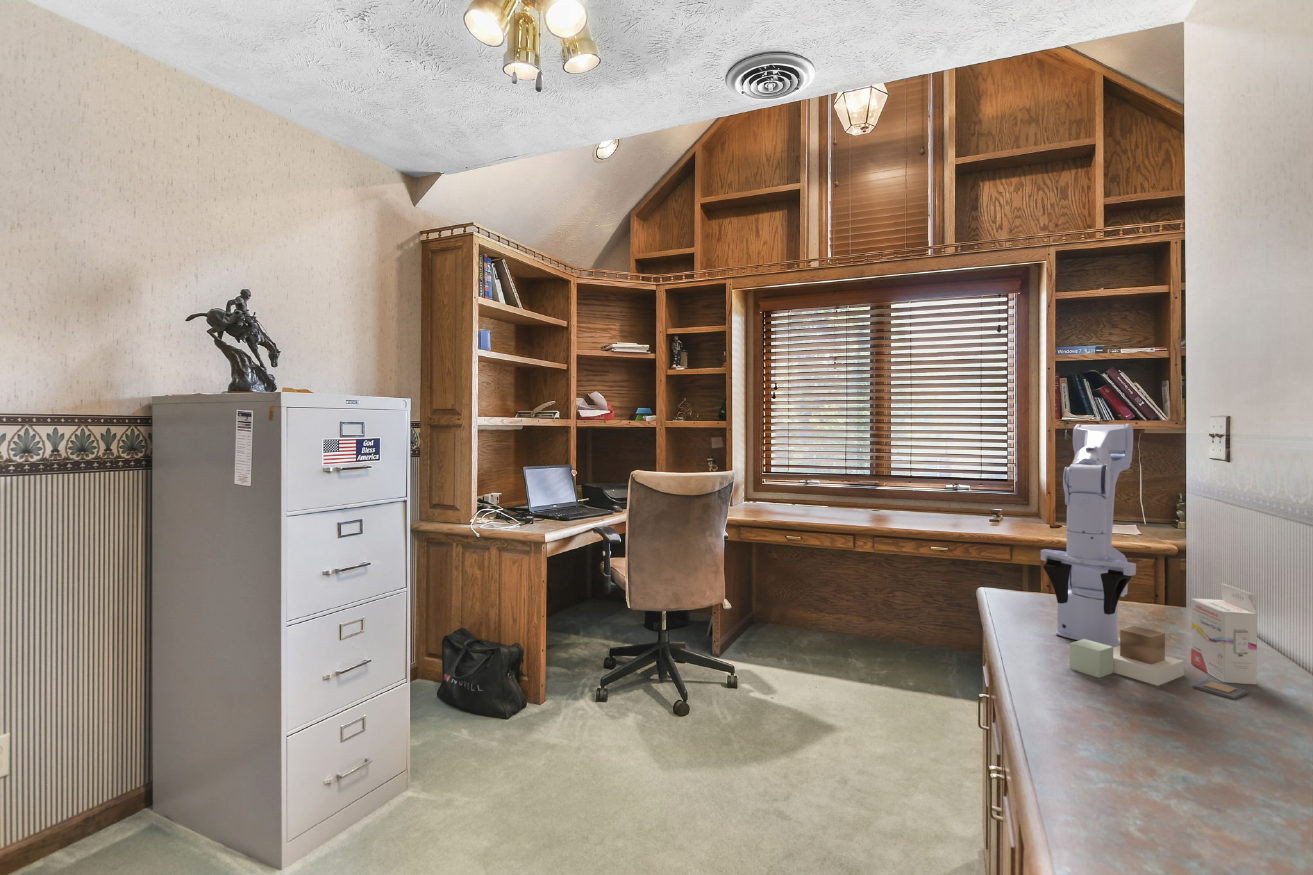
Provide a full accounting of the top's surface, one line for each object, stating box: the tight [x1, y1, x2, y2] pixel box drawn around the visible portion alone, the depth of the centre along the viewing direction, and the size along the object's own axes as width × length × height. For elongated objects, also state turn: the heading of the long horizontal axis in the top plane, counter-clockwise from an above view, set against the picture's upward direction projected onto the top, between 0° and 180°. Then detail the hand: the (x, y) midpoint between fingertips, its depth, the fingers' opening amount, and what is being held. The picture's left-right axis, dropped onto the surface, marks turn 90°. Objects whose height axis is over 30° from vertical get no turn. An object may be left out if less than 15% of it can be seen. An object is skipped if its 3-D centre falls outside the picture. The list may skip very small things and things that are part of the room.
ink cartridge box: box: [1190, 582, 1258, 685], centre depth 103 cm, size 9×5×15 cm, turn 168°
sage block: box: [1069, 639, 1114, 679], centre depth 104 cm, size 4×4×4 cm
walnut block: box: [1119, 625, 1166, 664], centre depth 104 cm, size 4×4×4 cm
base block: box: [1113, 645, 1185, 687], centre depth 104 cm, size 9×9×3 cm
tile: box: [1192, 679, 1249, 701], centre depth 96 cm, size 5×5×1 cm
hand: (1085, 607), depth 109 cm, fingers open, 7 cm apart
